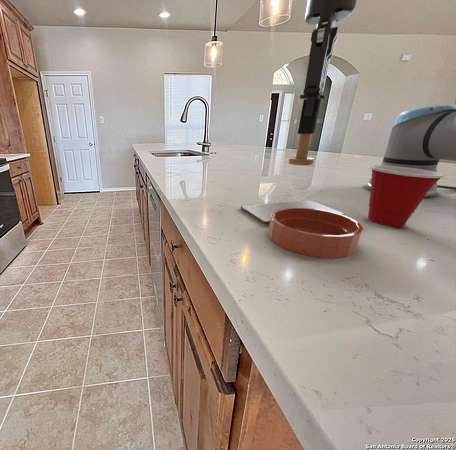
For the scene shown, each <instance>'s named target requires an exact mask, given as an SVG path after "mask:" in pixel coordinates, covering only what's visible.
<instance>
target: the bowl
mask: <svg viewBox="0 0 456 450" xmlns="http://www.w3.org/2000/svg"><path fill="white" fill-rule="evenodd" d="M268 225H269V227H268V232H267V236H268V237H269V239H270V240H271V241H272V242H273V243H274V244H276V245H277V246H279V247H281V248H283V249H285V250H287V251H290V252H294V253H297V254H299V255H302V256H303V255H304V256H309V257H314V258H321V259H338V258H339V259H340V258H346V257H349V256H352V255H354V254H355V253H356V251H357V249H358V245H359V242H360V239H361V237H362V234H363V231H364V227H363V225H362V224H361V223H360V222H358V221H357V220H355V219H354V218H352V217H349V216H347V215H345V216H344V215H342V214H338V213H334V212H331V211H326V210H320V209H312V208H283V209H279V210H276V211H274V212H273V213H272V214H271V219H270V224H268Z"/></svg>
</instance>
